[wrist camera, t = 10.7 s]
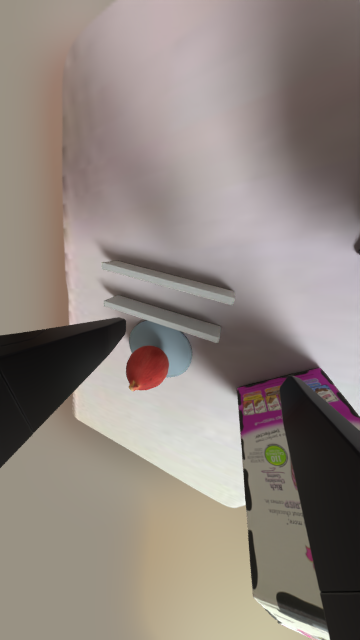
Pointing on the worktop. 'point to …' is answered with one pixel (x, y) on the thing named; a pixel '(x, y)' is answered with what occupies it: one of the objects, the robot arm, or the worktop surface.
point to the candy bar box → (281, 506)
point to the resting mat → (163, 344)
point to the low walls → (162, 315)
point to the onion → (146, 368)
